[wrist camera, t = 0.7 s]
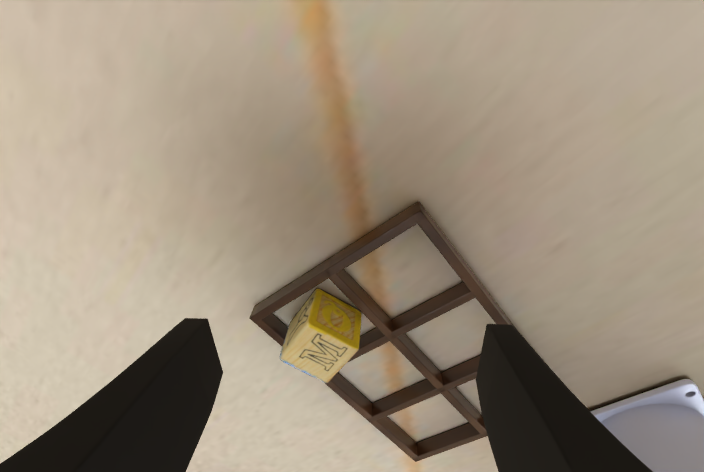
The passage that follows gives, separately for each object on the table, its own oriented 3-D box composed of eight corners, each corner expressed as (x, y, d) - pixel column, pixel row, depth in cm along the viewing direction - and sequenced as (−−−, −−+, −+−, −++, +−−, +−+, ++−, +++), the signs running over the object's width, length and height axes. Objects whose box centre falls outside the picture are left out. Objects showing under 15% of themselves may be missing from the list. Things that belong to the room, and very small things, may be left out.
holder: (564, 392, 24) (571, 406, 23) (414, 448, 28) (415, 462, 27) (418, 200, 18) (420, 209, 17) (253, 306, 22) (248, 318, 21)
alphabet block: (288, 320, 22) (277, 361, 20) (315, 285, 21) (307, 324, 18) (334, 342, 23) (328, 385, 20) (362, 310, 22) (360, 351, 19)
